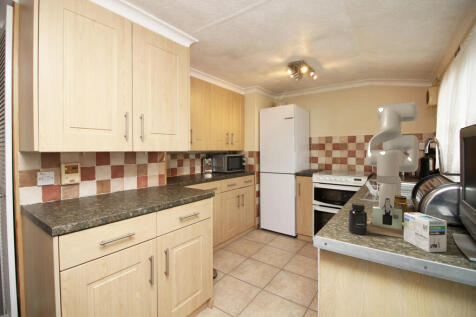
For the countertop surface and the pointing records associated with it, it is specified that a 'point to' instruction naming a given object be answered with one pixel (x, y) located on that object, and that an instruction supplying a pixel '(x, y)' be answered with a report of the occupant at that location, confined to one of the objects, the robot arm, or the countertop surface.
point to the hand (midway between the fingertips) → (386, 221)
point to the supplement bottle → (357, 219)
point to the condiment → (401, 205)
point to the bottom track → (385, 230)
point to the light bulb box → (425, 232)
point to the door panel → (395, 217)
